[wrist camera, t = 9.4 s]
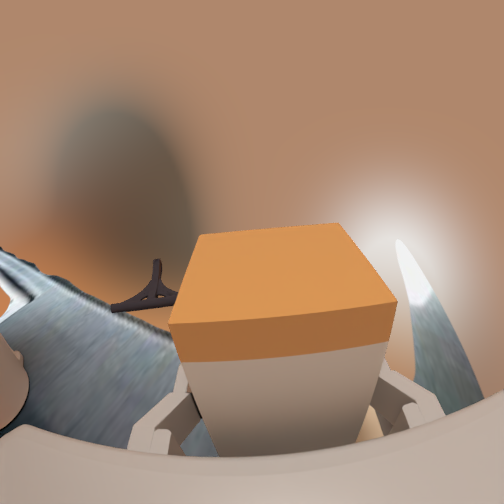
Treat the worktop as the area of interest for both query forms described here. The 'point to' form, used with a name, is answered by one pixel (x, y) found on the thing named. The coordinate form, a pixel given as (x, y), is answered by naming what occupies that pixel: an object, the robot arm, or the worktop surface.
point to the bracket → (149, 294)
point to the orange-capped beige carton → (281, 337)
